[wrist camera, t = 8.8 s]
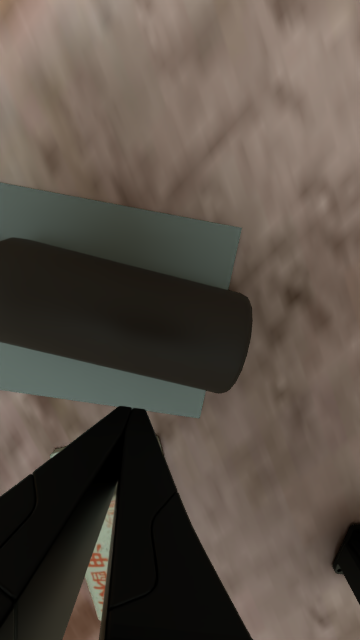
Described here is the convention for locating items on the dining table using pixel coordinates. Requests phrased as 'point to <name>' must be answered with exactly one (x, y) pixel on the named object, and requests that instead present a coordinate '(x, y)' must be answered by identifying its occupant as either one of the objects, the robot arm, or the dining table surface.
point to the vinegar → (122, 316)
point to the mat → (124, 247)
